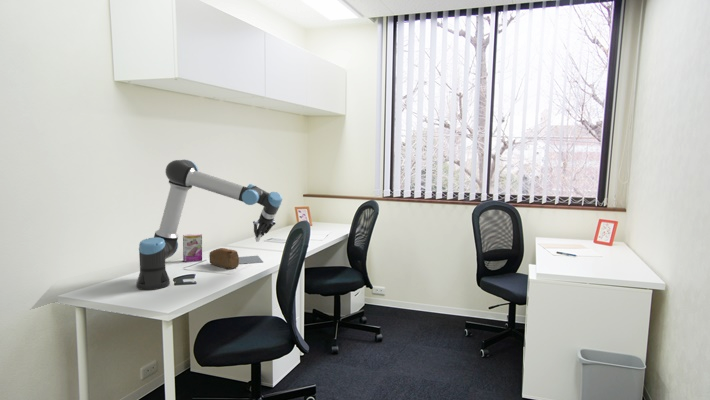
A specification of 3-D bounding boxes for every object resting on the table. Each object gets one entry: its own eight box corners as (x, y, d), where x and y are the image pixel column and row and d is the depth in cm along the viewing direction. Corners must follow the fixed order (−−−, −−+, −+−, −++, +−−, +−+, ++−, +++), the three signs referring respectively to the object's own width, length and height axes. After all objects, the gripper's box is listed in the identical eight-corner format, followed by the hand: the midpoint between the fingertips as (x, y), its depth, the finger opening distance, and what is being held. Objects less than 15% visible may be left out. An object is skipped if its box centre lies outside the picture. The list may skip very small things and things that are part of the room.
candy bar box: (183, 262, 266) (182, 235, 265) (183, 260, 271) (182, 234, 269) (202, 260, 271) (202, 234, 269) (202, 259, 275) (201, 233, 274)
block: (229, 270, 249) (208, 265, 261) (240, 267, 255) (219, 262, 267) (229, 251, 248) (207, 247, 260) (239, 249, 254) (218, 245, 266)
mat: (230, 265, 261) (230, 264, 261) (226, 258, 278) (226, 257, 278) (263, 262, 269) (263, 261, 269) (257, 256, 286) (257, 255, 286)
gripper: (258, 220, 231) (247, 246, 247) (281, 219, 239) (269, 244, 254) (254, 209, 235) (244, 235, 250) (277, 208, 242) (265, 233, 258)
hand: (257, 239), depth 252 cm, fingers closed
